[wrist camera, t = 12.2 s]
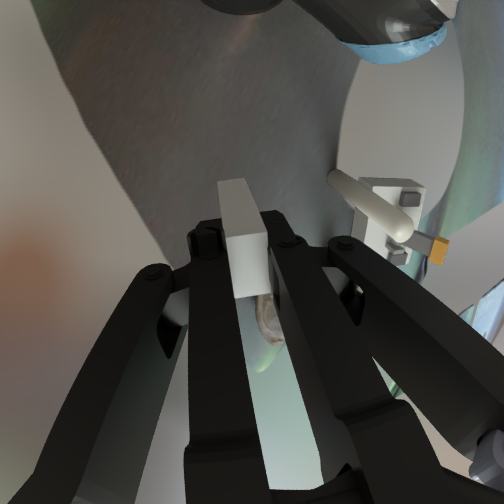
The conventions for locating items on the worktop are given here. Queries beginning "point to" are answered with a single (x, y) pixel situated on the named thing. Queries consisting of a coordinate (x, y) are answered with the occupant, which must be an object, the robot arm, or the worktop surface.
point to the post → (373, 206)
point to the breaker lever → (426, 246)
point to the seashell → (268, 319)
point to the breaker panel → (400, 196)
